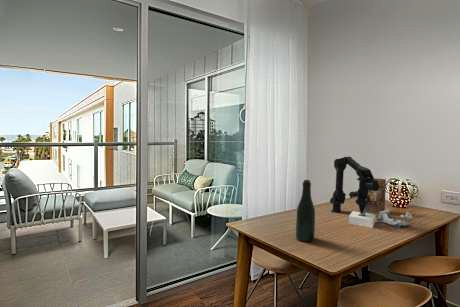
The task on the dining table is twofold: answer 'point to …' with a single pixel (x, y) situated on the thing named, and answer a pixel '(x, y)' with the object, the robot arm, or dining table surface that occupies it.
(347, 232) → the dining table surface
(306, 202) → the beer bottle
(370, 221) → the socket block
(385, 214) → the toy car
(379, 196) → the book
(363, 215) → the peg
